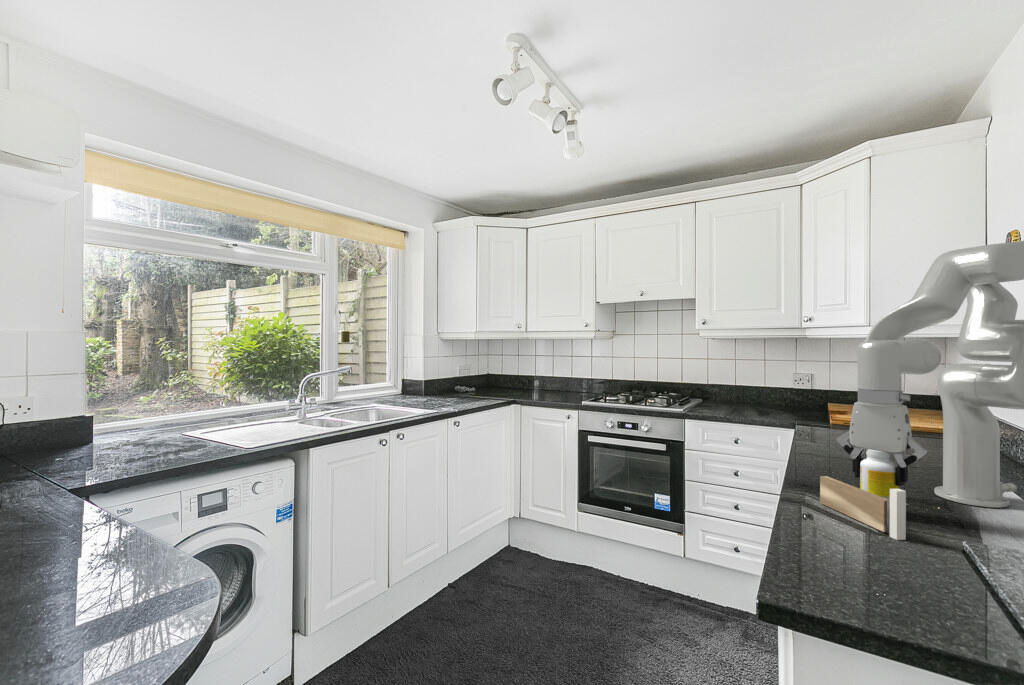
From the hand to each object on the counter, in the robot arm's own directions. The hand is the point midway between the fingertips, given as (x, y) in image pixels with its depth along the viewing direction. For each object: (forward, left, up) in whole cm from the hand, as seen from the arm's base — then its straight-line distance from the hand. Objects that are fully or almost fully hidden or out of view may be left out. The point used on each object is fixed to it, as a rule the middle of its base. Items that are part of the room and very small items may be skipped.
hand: (879, 479), depth 102 cm
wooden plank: (+8, +3, -7) cm, 11 cm away
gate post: (+8, +13, -7) cm, 17 cm away
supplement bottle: (0, 0, -6) cm, 6 cm away
